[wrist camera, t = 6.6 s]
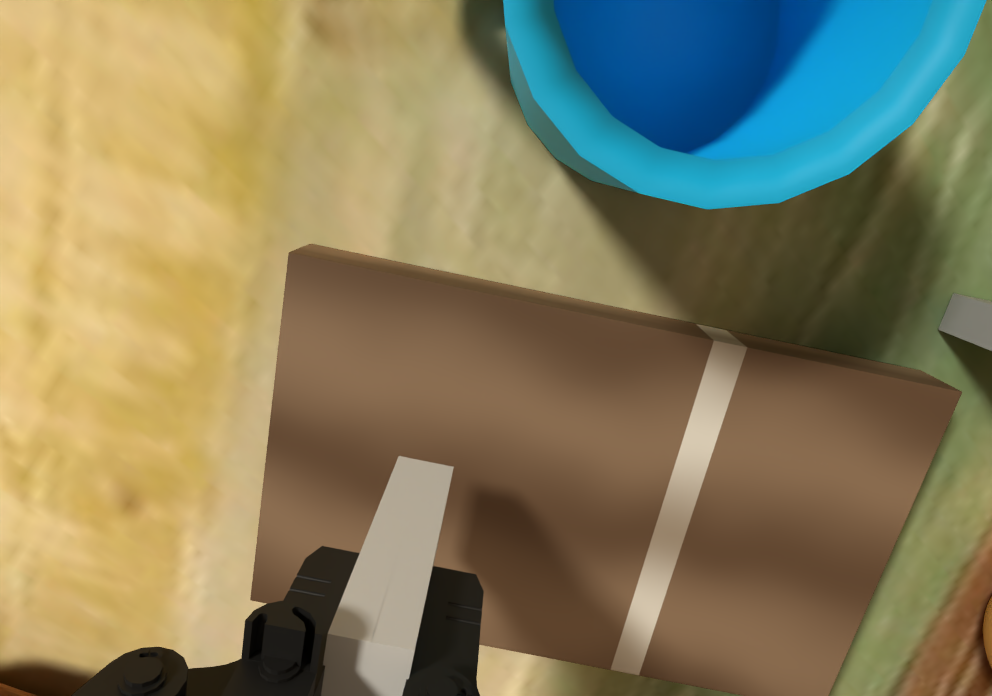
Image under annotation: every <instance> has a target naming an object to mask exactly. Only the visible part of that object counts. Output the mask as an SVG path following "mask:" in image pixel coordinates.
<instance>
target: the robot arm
mask: <svg viewBox="0 0 992 696" xmlns="http://www.w3.org/2000/svg"><path fill="white" fill-rule="evenodd" d="M453 468H454V467H452V466H447V465H442V464H437V463H432V462H427V461H422V460H417V459H412V458H407V457H402V456H399V457H398V459H397V462H396V464H395V467H394V469H393V471H392V474H391V476H390V479H389V481H388V484H387V486H386V489H385V491H384V494H383V496H382V499H381V501H380V504H379V506H378V509H377V511H376V514H375V516H374V519H373V521H372V524H371V526H370V529H369V531H368V534H367V536H366V539H365V541H364V544H363V546H362V549H361V551H360V553H357V552H351V551H346V550H341V549H336V548H331V547H326V546H321V547H320V548H318V549H317V550H316V551H314V552H313V553H312V554H310V555H309V556H308V557H306V558H305V560H304V562H303V564H302V566H301V568H300V570H299V572H298V573H297V577H295V579H294V581H293V583H292V585H291V587H290V590H289V591H288V592H287V594H286V596H285V598H284V600H283V601H278V602H273V603H268V604H266V605H264V606H262V607H260V608H258V609H256V610H254V611H253V612H252V614H251V615H250V616H249V617H248V618H247V619H246V620H245V629H244V639H243V649H242V658H241V659H240V660H238V661H235V662H232V663H229V664H226V665H221V666H215V667H205V668H192V669H188V666H187V664H186V662H185V660H184V657H182V656H181V655H179V654H178V653H177V652H175V651H174V650H171V649H166V648H162V647H149V648H140V649H137V650H134V651H131V652H128V653H125V654H123V655H122V656H120V657H119V658H117V659H115V660H114V661H112V662H111V663H109V664H108V665H107V666H106V667H105V668H103V669H102V670H101V671H100V672H99V673H97V674H96V675H95V676H94V677H93V678H92V679H90V680H89V681H88V682H87V683H86V684H84V685H83V686H82V687H81V688H80V689H78V690H77V691H76V692H75V693H74V694H73V695H71V696H480V694H479V692H478V689H477V680H476V676H477V665H478V653H479V641H480V629H481V618H482V606H483V594H484V591H483V588H482V586H481V584H480V582H479V580H478V577H477V575H476V574H472V573H467V572H462V571H457V570H452V569H447V568H442V567H437V566H434V562H435V557H436V552H437V547H438V542H439V537H440V532H441V527H442V522H443V518H444V513H445V508H446V503H447V498H448V493H449V488H450V483H451V478H452V473H453Z"/></svg>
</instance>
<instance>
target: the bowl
mask: <svg viewBox="0 0 992 696" xmlns="http://www.w3.org/2000/svg"><path fill="white" fill-rule="evenodd" d="M0 696H37V695H34V694H31V693H28V692H25V691H22V690H19V689H16V688H13V687H11V686H8V685H5V684H2V683H0Z"/></svg>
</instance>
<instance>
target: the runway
mask: <svg viewBox="0 0 992 696" xmlns="http://www.w3.org/2000/svg"><path fill="white" fill-rule="evenodd" d="M961 394H962V392H961V391H959V390H957V389H956V388H954V387H952V386H950V385H948V384H946V383H944V382H942V381H940V380H938V379H936V378H934V377H932V376H930V375H929V374H927V373H925V372H923V371H921V370H916V369H911V368H906V367H901V366H897V365H892V364H887V363H882V362H877V361H873V360H868V359H863V358H858V357H853V356H848V355H844V354H839V353H834V352H829V351H824V350H820V349H815V348H810V347H805V346H800V345H796V344H791V343H786V342H781V341H776V340H771V339H767V338H762V337H757V336H752V335H747V334H743V333H738V332H733V331H728V330H723V329H719V328H714V327H709V326H704V325H699V324H695V323H690V322H685V321H680V320H675V319H670V318H666V317H661V316H656V315H651V314H646V313H642V312H637V311H632V310H627V309H622V308H618V307H613V306H608V305H603V304H598V303H593V302H589V301H584V300H579V299H574V298H569V297H565V296H560V295H555V294H550V293H545V292H541V291H536V290H531V289H526V288H521V287H516V286H512V285H507V284H502V283H497V282H492V281H488V280H483V279H478V278H473V277H468V276H464V275H459V274H454V273H449V272H444V271H439V270H435V269H430V268H425V267H420V266H415V265H411V264H406V263H401V262H396V261H391V260H387V259H382V258H377V257H372V256H367V255H362V254H358V253H353V252H348V251H343V250H338V249H334V248H329V247H324V246H319V245H314V244H309V245H306V246H304V247H301V248H299V249H296V250H294V251H291V252H289V255H288V264H287V273H286V282H285V291H284V300H283V310H282V319H281V328H280V337H279V346H278V355H277V364H276V373H275V382H274V391H273V400H272V409H271V418H270V427H269V436H268V445H267V454H266V463H265V473H264V482H263V491H262V500H261V509H260V518H259V527H258V536H257V545H256V554H255V563H254V572H253V581H252V590H251V599H250V600H252V601H257V602H263V603H273V602H278V601H283V600H284V598H285V596H286V594H287V592H288V591H289V590H290V587H291V585H292V583H293V581H294V579H295V577H297V573H298V572H299V570H300V568H301V566H302V564H303V562H304V560H305V558H306V557H308V556H309V555H310V554H312V553H313V552H314V551H316V550H317V549H318V548H320V547H321V546H326V547H331V548H336V549H341V550H346V551H351V552H357V553H360V551H361V549H362V546H363V544H364V541H365V539H366V536H367V534H368V531H369V529H370V526H371V524H372V521H373V519H374V516H375V514H376V511H377V509H378V506H379V504H380V501H381V499H382V496H383V494H384V491H385V489H386V486H387V484H388V481H389V479H390V476H391V474H392V471H393V469H394V467H395V464H396V462H397V459H398V457H399V456H402V457H407V458H412V459H417V460H422V461H427V462H432V463H437V464H442V465H447V466H452V467H454V468H453V473H452V478H451V483H450V488H449V493H448V498H447V503H446V508H445V513H444V518H443V522H442V527H441V532H440V537H439V542H438V547H437V552H436V557H435V562H434V566H437V567H442V568H447V569H452V570H457V571H462V572H467V573H472V574H476V575H477V577H478V580H479V582H480V584H481V586H482V588H483V591H484V594H483V606H482V618H481V629H480V641H479V644H480V645H485V646H490V647H495V648H500V649H505V650H511V651H516V652H521V653H526V654H531V655H536V656H542V657H547V658H552V659H557V660H562V661H567V662H573V663H578V664H583V665H588V666H593V667H598V668H604V669H609V670H614V671H619V672H624V673H629V674H635V675H640V676H645V677H650V678H655V679H660V680H666V681H671V682H676V683H681V684H686V685H691V686H697V687H702V688H707V689H712V690H717V691H722V692H728V693H733V694H738V695H743V696H828V695H829V693H830V691H831V689H832V686H833V684H834V682H835V680H836V677H837V675H838V673H839V671H840V668H841V666H842V664H843V661H844V659H845V657H846V655H847V652H848V650H849V648H850V646H851V643H852V641H853V639H854V636H855V634H856V632H857V630H858V627H859V625H860V623H861V621H862V618H863V616H864V614H865V612H866V609H867V607H868V605H869V602H870V600H871V598H872V596H873V593H874V591H875V589H876V587H877V584H878V582H879V580H880V578H881V575H882V573H883V571H884V568H885V566H886V564H887V562H888V559H889V557H890V555H891V553H892V550H893V548H894V546H895V543H896V541H897V539H898V537H899V534H900V532H901V530H902V528H903V525H904V523H905V521H906V519H907V516H908V514H909V512H910V509H911V507H912V505H913V503H914V500H915V498H916V496H917V494H918V491H919V489H920V487H921V485H922V482H923V480H924V478H925V475H926V473H927V471H928V469H929V466H930V464H931V462H932V460H933V457H934V455H935V453H936V450H937V448H938V446H939V444H940V441H941V439H942V437H943V435H944V432H945V430H946V428H947V426H948V423H949V421H950V419H951V416H952V414H953V412H954V410H955V407H956V405H957V403H958V401H959V398H960V396H961Z"/></svg>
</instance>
